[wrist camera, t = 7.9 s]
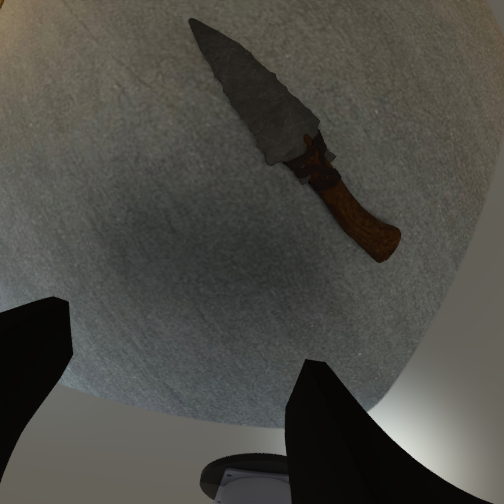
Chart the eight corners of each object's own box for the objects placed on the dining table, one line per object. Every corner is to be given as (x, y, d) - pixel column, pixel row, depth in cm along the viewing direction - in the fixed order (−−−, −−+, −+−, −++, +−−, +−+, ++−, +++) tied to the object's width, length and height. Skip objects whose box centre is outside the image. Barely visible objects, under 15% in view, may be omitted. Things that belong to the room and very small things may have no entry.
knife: (415, 248, 15) (343, 300, 14) (392, 246, 17) (324, 292, 16) (266, -15, 12) (180, 7, 12) (257, 6, 14) (180, 30, 14)
